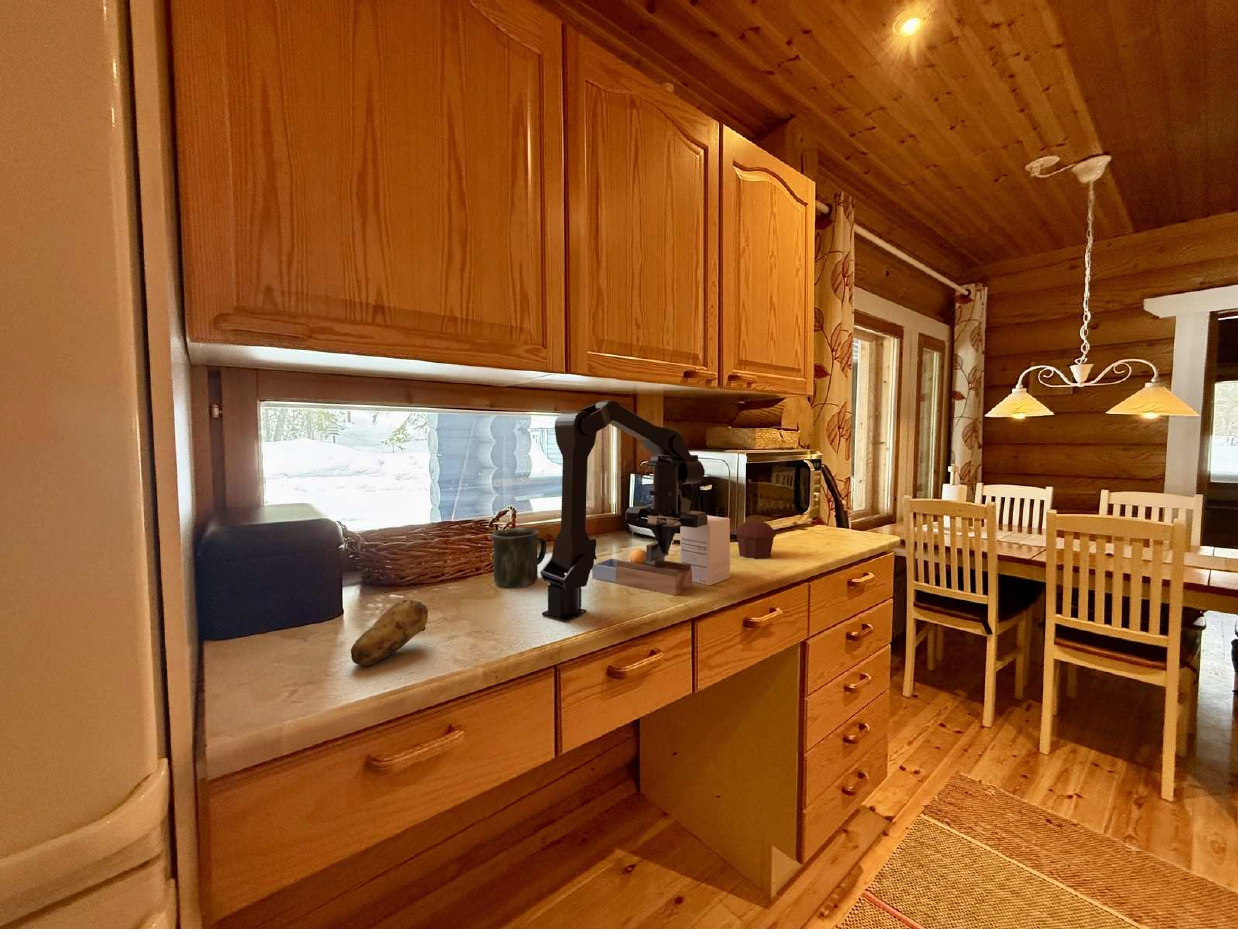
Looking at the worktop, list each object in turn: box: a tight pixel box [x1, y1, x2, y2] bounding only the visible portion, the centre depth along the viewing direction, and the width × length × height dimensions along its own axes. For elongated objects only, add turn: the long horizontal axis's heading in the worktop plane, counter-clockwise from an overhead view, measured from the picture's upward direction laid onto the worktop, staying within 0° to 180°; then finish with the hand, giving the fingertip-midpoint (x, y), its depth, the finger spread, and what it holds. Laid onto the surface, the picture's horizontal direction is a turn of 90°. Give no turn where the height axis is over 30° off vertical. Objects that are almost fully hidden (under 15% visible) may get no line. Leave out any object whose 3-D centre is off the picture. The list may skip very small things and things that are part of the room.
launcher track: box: [615, 559, 693, 596], centre depth 122 cm, size 8×16×5 cm, turn 55°
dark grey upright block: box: [645, 541, 669, 568], centre depth 122 cm, size 8×2×6 cm, turn 145°
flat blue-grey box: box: [591, 557, 631, 584], centre depth 129 cm, size 8×8×4 cm
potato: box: [350, 599, 429, 667], centre depth 84 cm, size 8×13×8 cm, turn 135°
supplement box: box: [679, 514, 731, 586], centre depth 128 cm, size 9×9×15 cm
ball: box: [630, 548, 646, 565], centre depth 124 cm, size 4×4×4 cm
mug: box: [490, 527, 547, 588], centre depth 126 cm, size 11×15×12 cm
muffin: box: [734, 519, 777, 560], centre depth 152 cm, size 12×11×10 cm
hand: (665, 553), depth 120 cm, fingers closed
